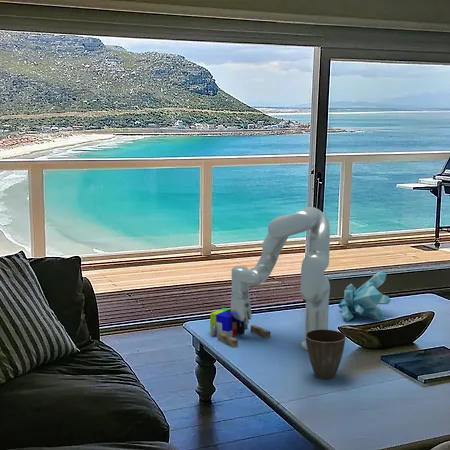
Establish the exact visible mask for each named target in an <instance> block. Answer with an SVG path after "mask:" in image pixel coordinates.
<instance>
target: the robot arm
mask: <svg viewBox="0 0 450 450" xmlns="http://www.w3.org/2000/svg"><path fill="white" fill-rule="evenodd" d="M306 231H307V232H308V231H309V236H308V239H309V240H308V251H307V254H306V255H305V256H304V257H303V259H302V262H301V267H300V268H301V269H300V295H301V297H302V298H303V299H304V300H305V332H304V334H305V337H304V338H305V340H303V341H302V342H301V347H302V348H303V349H304V350H306V351H308V349H307V343H306V333H308V332H310V331H313V330H322V329H323V330H329V304H330V301H329V300H330V293H331V284H330V279H329V278H328V277H327V276H326V275H325V271H326V270H327V269H328V267H329V264H330V245H331V244H330V241H331V240H330V237H331V229H330V222H329V219H328V217H327V216H326V215H325V213H324V212H322V211H321V210H320V209H319V208H316V207H315V206H306V207H304V208H302V209H301V210H299V211H297V212H294V213H290V214H287V215H280V216H277V217H275V218H273V219H272V220H270V222H269V223H268V225H267V234H266V236H265V237H264V240H263V241H262V244H261V249H262V252H261V255H260V258H259V259H258V261H257V263H256V265H255V266H254V267H252V268H250V269H249V268H248V267H247V266H244V265H237V266H236V265H235V266H233V267H232V268H231V297H230V298H231V299H230V309H231V315H233V317H234V318H235V321H236V325H237V334H238V335H239V336H240V335H244V334H245V330H246V329H244V326H245V324H249V323H250V322H249V320H250V321H251V320H252V305H251V299H250V296H249V295H250V290H249V288H250V287H249V286H251V287H258V286H260V285H262V283H264V282H265V281H267V280H268V278H269V277H270V275H271V274H272V272H273V270H274V268H275V267H276V264H277V261H278V259H279V258H280V257H279V256H280V255H281V254H280V253H281V252H282V250H283V248H284V246H285V244H286V242H287V240H288V238H289V237H291V236H294V235H298V234H301V233H303V232H306Z"/></svg>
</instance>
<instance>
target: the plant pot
mask: <svg viewBox="0 0 450 450" xmlns="http://www.w3.org/2000/svg"><path fill="white" fill-rule="evenodd" d="M306 343H307V349H308V350H307V354H308V359H309V362H310V365H311V368H312V370H313V373H314V376H315V377H316V378H317V379H320V380H327V381H328V380H332V379H334V378H335V377H336V376H337V372H338V370H339V367H340V364H341V361H342V357H343V353H344V350H345V343H346V334H344V333H343V332H341V331H337V330H334V329H328V330H323V329H322V330H313V331H310V332H308V333H306Z"/></svg>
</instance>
